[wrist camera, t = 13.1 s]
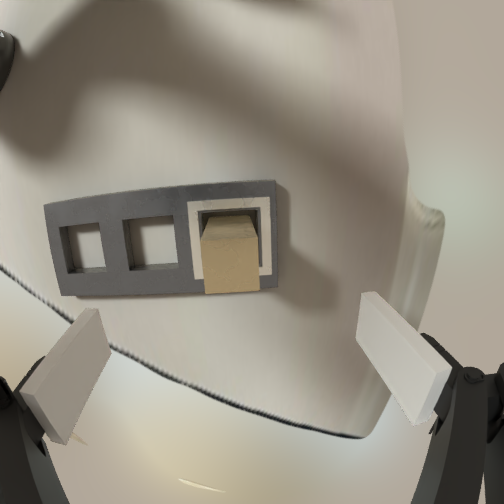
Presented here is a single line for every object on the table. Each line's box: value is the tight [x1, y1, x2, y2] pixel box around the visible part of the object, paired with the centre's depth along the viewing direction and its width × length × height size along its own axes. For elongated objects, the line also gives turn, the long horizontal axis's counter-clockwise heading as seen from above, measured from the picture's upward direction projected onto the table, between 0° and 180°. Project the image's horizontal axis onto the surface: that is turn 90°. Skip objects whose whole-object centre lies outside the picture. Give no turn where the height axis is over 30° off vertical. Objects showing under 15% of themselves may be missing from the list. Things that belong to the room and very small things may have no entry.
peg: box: [200, 215, 260, 294], centre depth 28 cm, size 4×4×11 cm
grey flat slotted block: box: [44, 180, 278, 296], centre depth 32 cm, size 28×12×2 cm, turn 92°
